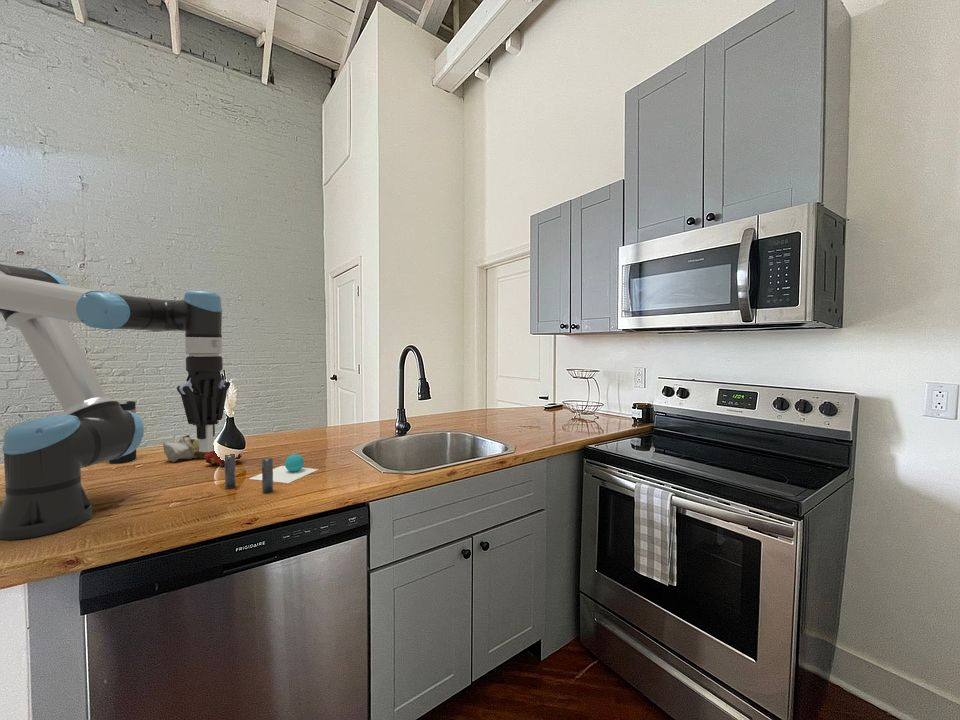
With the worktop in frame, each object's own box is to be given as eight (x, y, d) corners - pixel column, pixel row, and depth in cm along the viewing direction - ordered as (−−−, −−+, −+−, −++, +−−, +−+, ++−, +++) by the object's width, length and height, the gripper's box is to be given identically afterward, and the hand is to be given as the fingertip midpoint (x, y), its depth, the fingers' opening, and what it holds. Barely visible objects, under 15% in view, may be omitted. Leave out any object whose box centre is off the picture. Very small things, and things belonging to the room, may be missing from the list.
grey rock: (159, 434, 145) (208, 430, 157) (157, 460, 145) (207, 454, 157) (167, 440, 138) (219, 435, 150) (166, 466, 138) (217, 459, 150)
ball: (302, 476, 133) (294, 466, 129) (287, 474, 134) (278, 465, 130) (309, 460, 137) (302, 451, 133) (294, 459, 138) (286, 450, 134)
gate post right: (268, 493, 114) (267, 460, 114) (260, 492, 115) (259, 459, 114) (275, 490, 117) (274, 458, 116) (267, 489, 117) (266, 457, 117)
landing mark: (287, 483, 122) (287, 483, 122) (248, 479, 126) (248, 478, 126) (318, 469, 136) (318, 469, 136) (281, 466, 139) (281, 465, 139)
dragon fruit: (246, 467, 143) (204, 477, 138) (244, 448, 149) (205, 457, 144) (241, 451, 138) (197, 460, 133) (240, 432, 144) (198, 440, 139)
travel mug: (120, 464, 140) (118, 404, 139) (101, 463, 142) (100, 403, 141) (143, 458, 148) (141, 401, 147) (125, 457, 149) (123, 400, 148)
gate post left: (230, 489, 117) (229, 457, 117) (222, 488, 118) (222, 456, 118) (238, 486, 120) (237, 454, 120) (230, 485, 121) (230, 454, 120)
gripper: (191, 356, 96) (194, 459, 97) (238, 354, 109) (240, 446, 110) (166, 355, 98) (168, 456, 99) (215, 354, 111) (216, 444, 111)
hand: (206, 451), depth 104 cm, fingers closed
